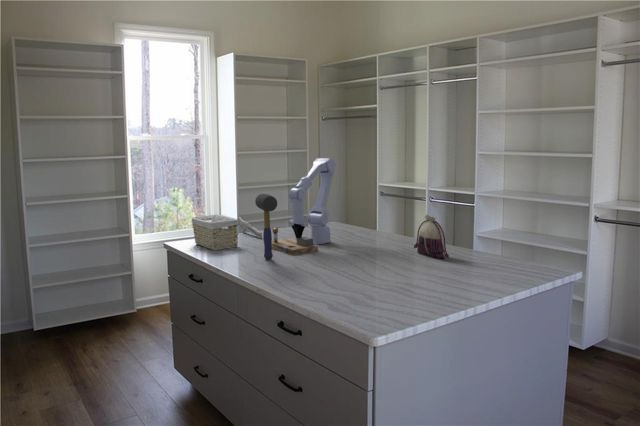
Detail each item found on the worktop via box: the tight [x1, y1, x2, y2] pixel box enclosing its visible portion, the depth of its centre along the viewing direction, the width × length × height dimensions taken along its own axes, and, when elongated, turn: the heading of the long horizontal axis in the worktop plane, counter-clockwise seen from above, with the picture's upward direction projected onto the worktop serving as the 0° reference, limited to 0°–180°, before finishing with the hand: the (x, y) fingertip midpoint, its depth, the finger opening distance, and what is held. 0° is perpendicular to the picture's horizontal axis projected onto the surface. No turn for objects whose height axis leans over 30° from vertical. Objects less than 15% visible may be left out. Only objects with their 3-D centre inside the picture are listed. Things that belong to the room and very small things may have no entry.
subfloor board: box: [271, 237, 319, 256], centre depth 274 cm, size 15×26×2 cm, turn 35°
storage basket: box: [191, 213, 239, 251], centre depth 286 cm, size 24×16×15 cm
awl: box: [271, 227, 279, 242], centre depth 278 cm, size 3×3×7 cm
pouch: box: [413, 214, 450, 260], centre depth 250 cm, size 25×8×19 cm, turn 33°
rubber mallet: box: [254, 193, 278, 261], centre depth 250 cm, size 12×8×30 cm, turn 24°
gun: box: [237, 216, 263, 239], centre depth 314 cm, size 2×30×8 cm, turn 32°
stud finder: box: [296, 236, 314, 246], centre depth 271 cm, size 5×7×3 cm
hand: (298, 239), depth 275 cm, fingers closed
